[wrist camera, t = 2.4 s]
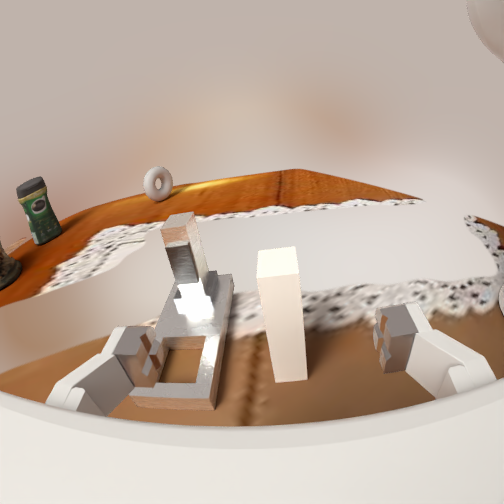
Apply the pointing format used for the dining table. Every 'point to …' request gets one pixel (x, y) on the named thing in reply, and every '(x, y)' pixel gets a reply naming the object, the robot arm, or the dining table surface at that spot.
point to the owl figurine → (8, 269)
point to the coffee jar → (38, 210)
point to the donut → (165, 186)
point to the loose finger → (282, 312)
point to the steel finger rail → (190, 320)
